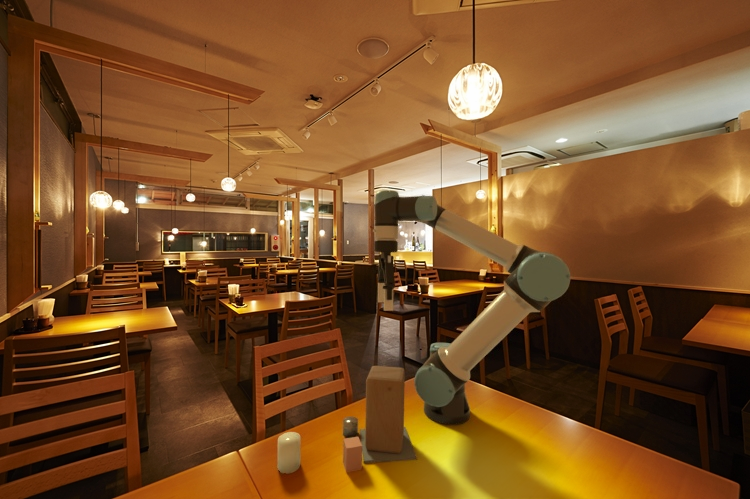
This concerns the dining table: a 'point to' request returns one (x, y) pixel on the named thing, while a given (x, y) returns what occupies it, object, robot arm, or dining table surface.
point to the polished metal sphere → (350, 427)
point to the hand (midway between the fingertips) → (384, 306)
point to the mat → (378, 456)
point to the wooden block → (385, 409)
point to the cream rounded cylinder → (288, 452)
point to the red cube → (352, 454)
